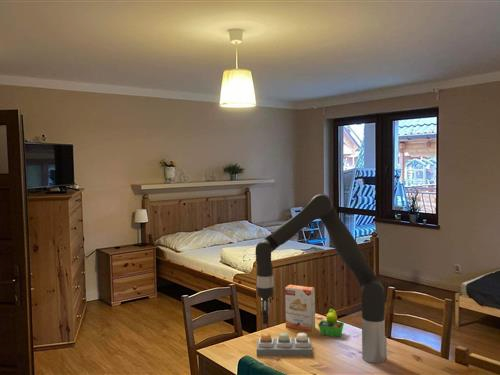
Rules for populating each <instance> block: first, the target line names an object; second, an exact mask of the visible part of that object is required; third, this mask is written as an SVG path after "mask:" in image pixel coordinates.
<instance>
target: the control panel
mask: <svg viewBox="0 0 500 375" xmlns="http://www.w3.org/2000/svg"><path fill="white" fill-rule="evenodd" d="M256 343H257V344H256V357H313V346H312V340H311V338H309V337H307V340H306V341H299V340H297V337H294V338H292V337H289V340H287V341H281V340H279V337H277V338H274V337H271V340H269V341H263V340H261V337H259V338H257V342H256Z"/></svg>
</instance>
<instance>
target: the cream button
mask: <svg viewBox="0 0 500 375" xmlns="http://www.w3.org/2000/svg"><path fill="white" fill-rule="evenodd" d="M296 338H297V340H299V341H306V340H307V338H308V334H307V333H306V332H298V333H297V334H296Z"/></svg>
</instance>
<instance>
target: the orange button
mask: <svg viewBox="0 0 500 375" xmlns="http://www.w3.org/2000/svg"><path fill="white" fill-rule="evenodd" d="M260 338H261V340H263V341H269V340H271V338H272V334H271V333H270V332H263V333H261V334H260Z"/></svg>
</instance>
